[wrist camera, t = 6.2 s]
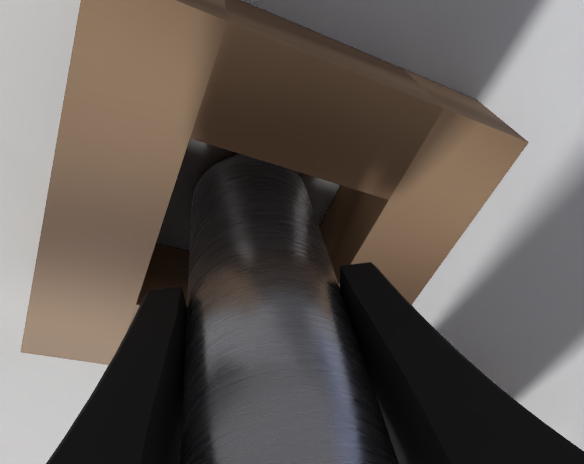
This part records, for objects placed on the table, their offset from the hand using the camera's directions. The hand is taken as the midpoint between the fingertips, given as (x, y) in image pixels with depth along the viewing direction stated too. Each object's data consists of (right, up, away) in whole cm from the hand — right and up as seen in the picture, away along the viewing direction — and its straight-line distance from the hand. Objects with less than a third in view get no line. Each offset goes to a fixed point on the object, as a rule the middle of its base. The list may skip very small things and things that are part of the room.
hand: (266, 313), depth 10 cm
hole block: (-1, +3, +4) cm, 4 cm away
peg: (-1, +2, +3) cm, 4 cm away
